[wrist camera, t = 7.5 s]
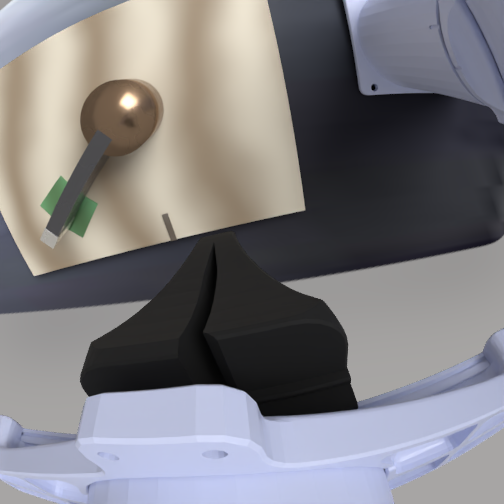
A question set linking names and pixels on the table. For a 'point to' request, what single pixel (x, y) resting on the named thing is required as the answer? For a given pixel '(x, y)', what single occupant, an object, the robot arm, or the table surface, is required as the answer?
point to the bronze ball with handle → (106, 141)
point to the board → (162, 141)
